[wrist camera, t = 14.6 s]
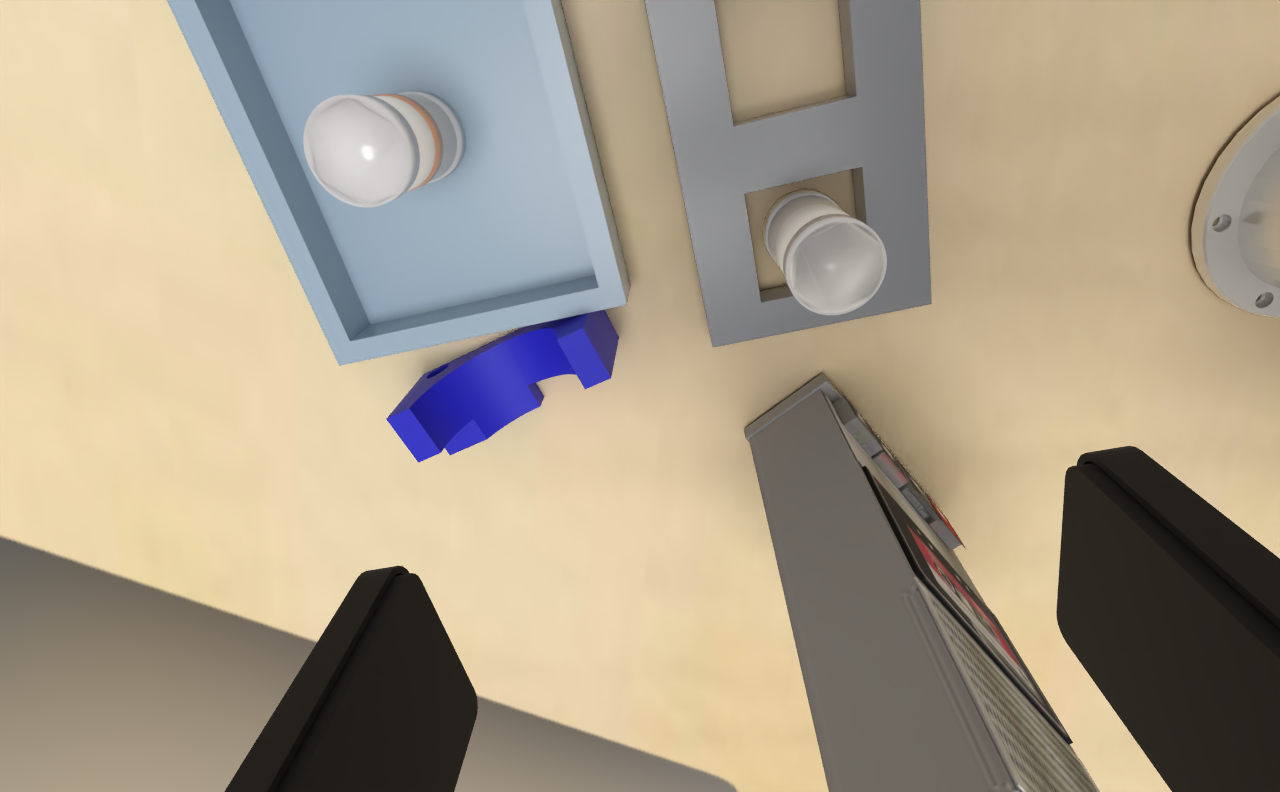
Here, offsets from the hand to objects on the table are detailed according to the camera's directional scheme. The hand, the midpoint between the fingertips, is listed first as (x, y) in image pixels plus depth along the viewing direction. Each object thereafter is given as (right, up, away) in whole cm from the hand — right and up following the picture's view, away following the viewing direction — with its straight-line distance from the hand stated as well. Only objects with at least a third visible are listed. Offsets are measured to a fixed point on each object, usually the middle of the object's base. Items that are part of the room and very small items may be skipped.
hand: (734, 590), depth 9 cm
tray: (-12, +16, +24) cm, 32 cm away
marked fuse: (-12, +16, +23) cm, 31 cm away
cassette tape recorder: (+12, -2, +32) cm, 34 cm away
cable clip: (-8, +5, +30) cm, 32 cm away
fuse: (+7, +12, +25) cm, 29 cm away
